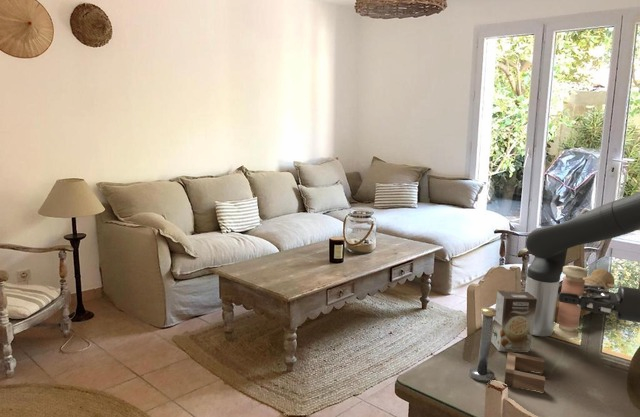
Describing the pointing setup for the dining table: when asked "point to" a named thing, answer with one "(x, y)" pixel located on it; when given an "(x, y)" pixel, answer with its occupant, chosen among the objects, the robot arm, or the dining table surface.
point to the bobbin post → (484, 348)
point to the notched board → (523, 378)
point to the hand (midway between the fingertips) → (559, 293)
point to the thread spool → (567, 311)
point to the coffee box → (513, 321)
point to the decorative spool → (596, 279)
